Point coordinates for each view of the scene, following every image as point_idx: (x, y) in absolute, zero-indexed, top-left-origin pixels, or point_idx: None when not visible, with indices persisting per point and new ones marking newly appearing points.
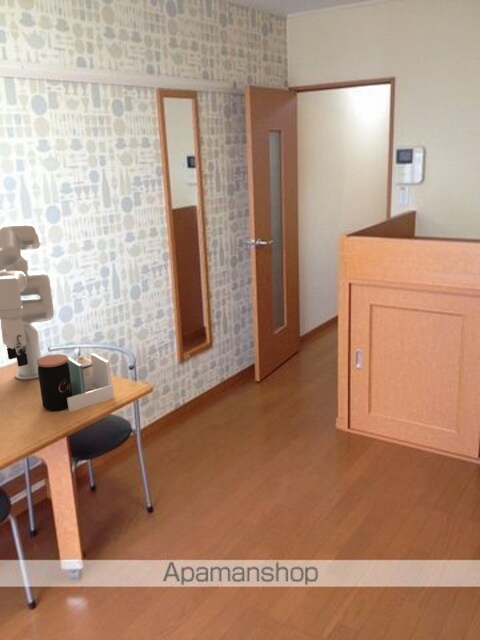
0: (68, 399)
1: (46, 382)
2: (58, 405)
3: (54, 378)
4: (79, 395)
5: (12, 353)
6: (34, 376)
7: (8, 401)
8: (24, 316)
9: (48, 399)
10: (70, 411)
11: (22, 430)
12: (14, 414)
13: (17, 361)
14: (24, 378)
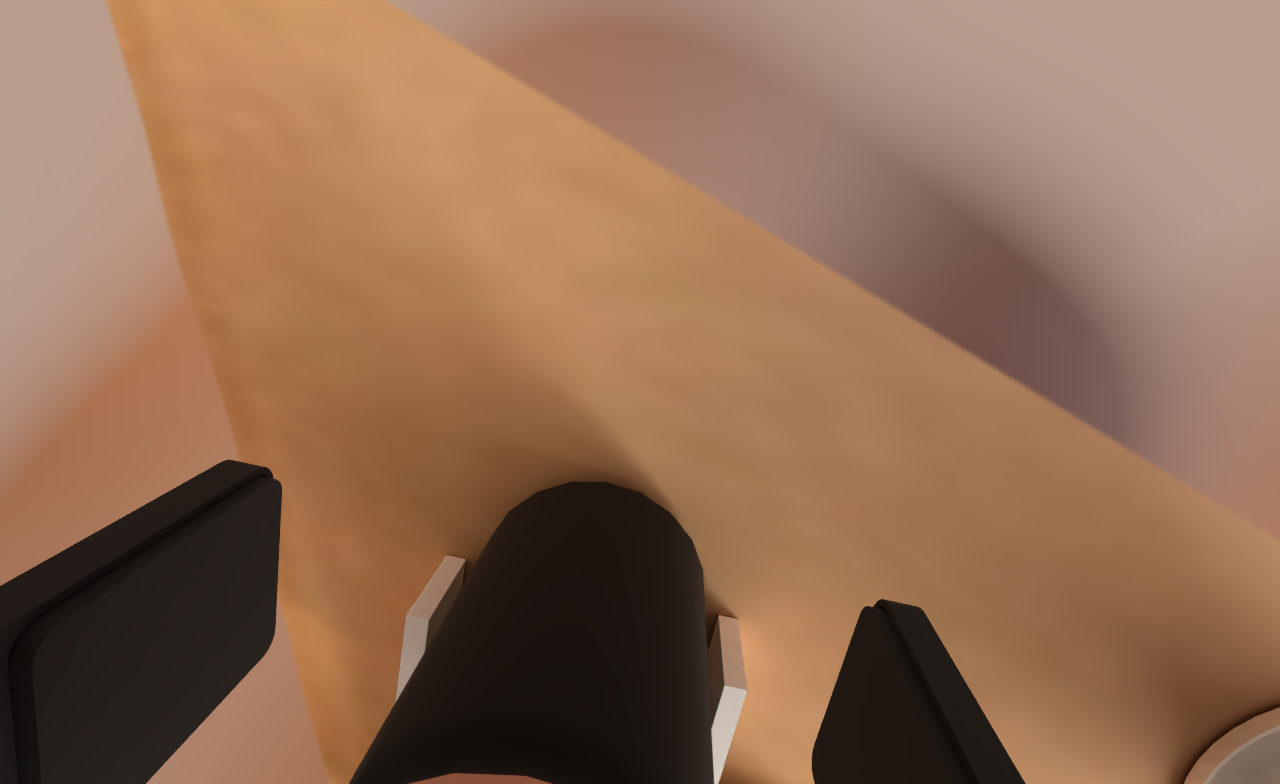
0: (408, 613)
1: (473, 626)
2: (488, 542)
3: (394, 707)
4: (397, 695)
5: (875, 774)
6: (1209, 774)
7: (1018, 411)
8: None
9: (525, 527)
10: (444, 560)
11: (433, 180)
12: (748, 302)
13: (170, 513)
14: (1270, 719)
